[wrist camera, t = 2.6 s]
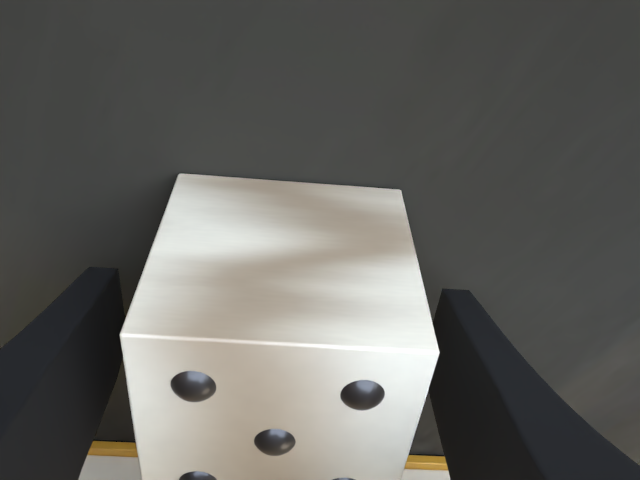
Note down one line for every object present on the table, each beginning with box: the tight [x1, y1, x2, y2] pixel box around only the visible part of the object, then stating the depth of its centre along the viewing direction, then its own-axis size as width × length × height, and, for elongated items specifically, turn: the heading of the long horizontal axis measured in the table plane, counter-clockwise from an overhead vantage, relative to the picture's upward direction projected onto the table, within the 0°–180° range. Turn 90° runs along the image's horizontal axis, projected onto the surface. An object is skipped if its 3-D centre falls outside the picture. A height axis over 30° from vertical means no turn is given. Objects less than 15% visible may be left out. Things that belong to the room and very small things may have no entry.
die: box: [120, 173, 440, 480], centre depth 12 cm, size 5×5×5 cm
